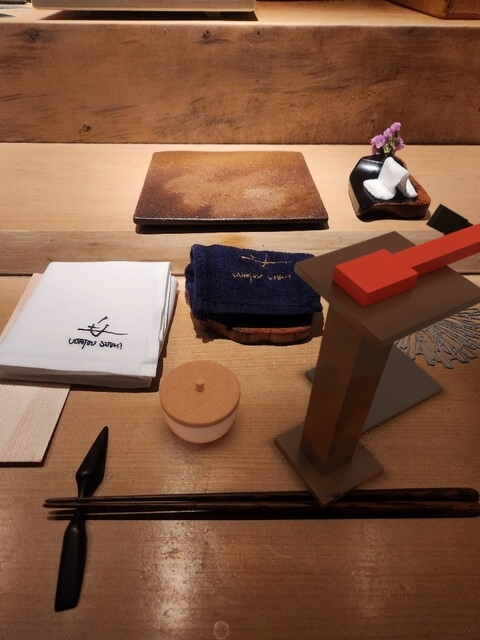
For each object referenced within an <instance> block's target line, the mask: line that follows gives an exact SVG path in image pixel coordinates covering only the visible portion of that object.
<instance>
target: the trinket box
mask: <svg viewBox="0 0 480 640" xmlns="http://www.w3.org/2000/svg"><path fill="white" fill-rule="evenodd" d="M158 395H159V402H160V406H161V411H162V413H163V418H164V420H165V421H166V423H167V425H168V427H169V428H170V429H171V431H172V432H173V433H174V434H175V435H176V436H178V437H179V438H180V439H182V440H185V441H186V442H190V443H194V444H206V443H210V442H214V441H216V440H218V439H220V438H221V437H223V436H224V435H226V434H227V432H228V431H229V430H230V429H231V428H232V426H233V425H234V423H235V420H236V418H237V415H238V413H239V408H240V407H239V406H240V400H241V385H240V382H239V380H238V378H237V376H236V375H235V373H234V372H233V371H232V370H231V369H229V368H228V367H227V366H226V365H223V364H221V363H218V362H216V361H212V360H201V359H199V360H198V359H197V360H191V361H187V362H184V363H182V364H179V365H178V366H176V367H174V368H173V369H172V370H170V371H169V372H168V373H167V374H166V375H165V377H164V378H163V379H162V381H161V384H160V386H159V393H158Z"/></svg>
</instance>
